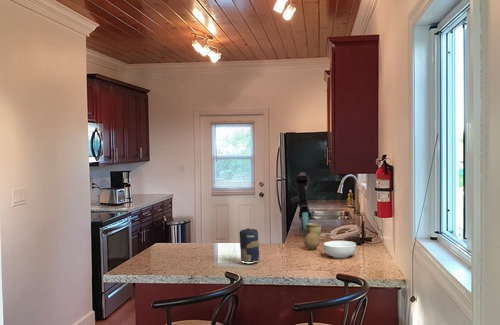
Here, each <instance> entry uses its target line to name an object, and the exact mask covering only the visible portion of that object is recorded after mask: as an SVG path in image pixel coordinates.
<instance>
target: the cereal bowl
mask: <svg viewBox="0 0 500 325" xmlns="http://www.w3.org/2000/svg"><path fill="white" fill-rule="evenodd" d="M323 250H324V252H325V253H326V254H327V255H328V256H331V257H332V258H333V259H347V258H348V257H350V256H352V255H354V254H355V252H356V250H357V243H356V242H354V241H348V240H331V241H325V242H324V243H323Z"/></svg>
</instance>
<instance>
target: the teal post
mask: <svg viewBox="0 0 500 325" xmlns="http://www.w3.org/2000/svg"><path fill="white" fill-rule="evenodd" d="M302 219H303V230H307V227H306V224H307V223H310V220H309V221H308V212H303V213H302Z"/></svg>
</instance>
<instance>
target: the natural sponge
mask: <svg viewBox="0 0 500 325" xmlns="http://www.w3.org/2000/svg"><path fill="white" fill-rule="evenodd" d="M320 243H321V237H320V238H319V236H318V235H317V234H316V233H314V232H311V233H309V234H307V236H305V238H304V240H303V245H304V246H305V247H306V248H308V249H309V250H312V251H314V250H315V249H317V247H319V245H321V244H320Z"/></svg>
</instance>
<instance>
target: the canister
mask: <svg viewBox="0 0 500 325" xmlns="http://www.w3.org/2000/svg"><path fill="white" fill-rule="evenodd" d="M239 247H240V261H241V260H242V261H244V262H254V261H258V260H259V261H260V245H259V232H258V230H257V229H254V228H249V227H248V228H247V227H246V228H245V229H240V231H239Z"/></svg>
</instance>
